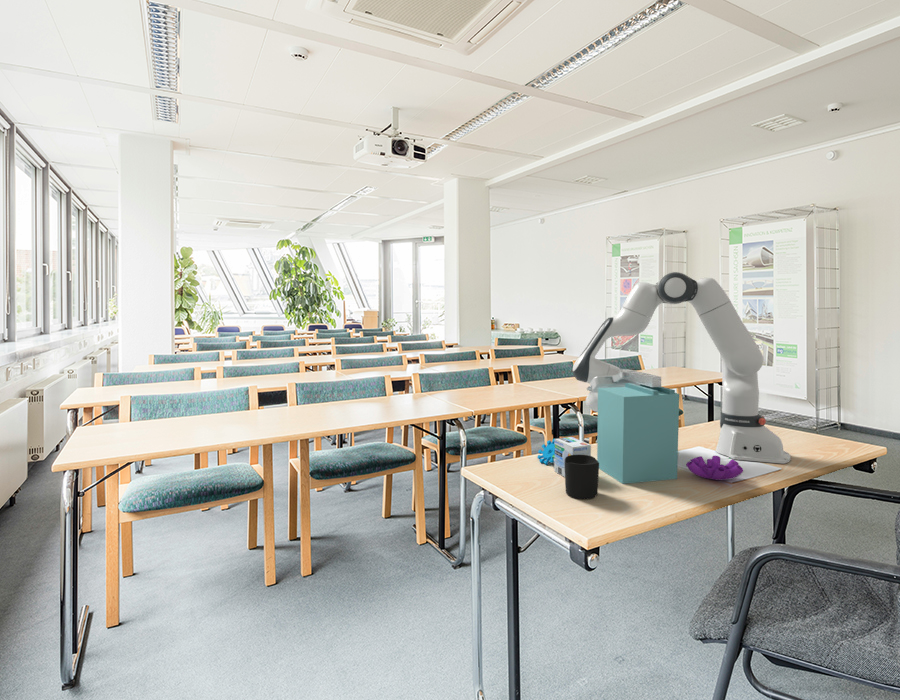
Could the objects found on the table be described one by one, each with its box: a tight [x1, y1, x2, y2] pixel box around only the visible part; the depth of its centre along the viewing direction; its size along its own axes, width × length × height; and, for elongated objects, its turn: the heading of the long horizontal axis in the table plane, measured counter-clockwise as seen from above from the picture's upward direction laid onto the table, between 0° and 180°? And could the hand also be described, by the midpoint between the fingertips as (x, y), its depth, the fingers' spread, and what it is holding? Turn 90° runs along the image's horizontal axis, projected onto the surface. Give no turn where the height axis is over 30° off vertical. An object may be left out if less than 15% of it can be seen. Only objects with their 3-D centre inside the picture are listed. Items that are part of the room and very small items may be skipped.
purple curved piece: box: [686, 455, 744, 481], centre depth 158 cm, size 11×15×10 cm
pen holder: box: [564, 455, 600, 500], centre depth 148 cm, size 9×9×10 cm
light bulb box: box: [553, 436, 592, 478], centre depth 164 cm, size 11×7×11 cm, turn 21°
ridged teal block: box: [596, 383, 680, 485], centre depth 164 cm, size 16×18×27 cm
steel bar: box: [619, 368, 662, 387], centre depth 169 cm, size 20×3×3 cm, turn 11°
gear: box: [537, 438, 556, 465], centre depth 177 cm, size 11×6×10 cm
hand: (630, 373), depth 174 cm, fingers closed on steel bar, 3 cm apart
